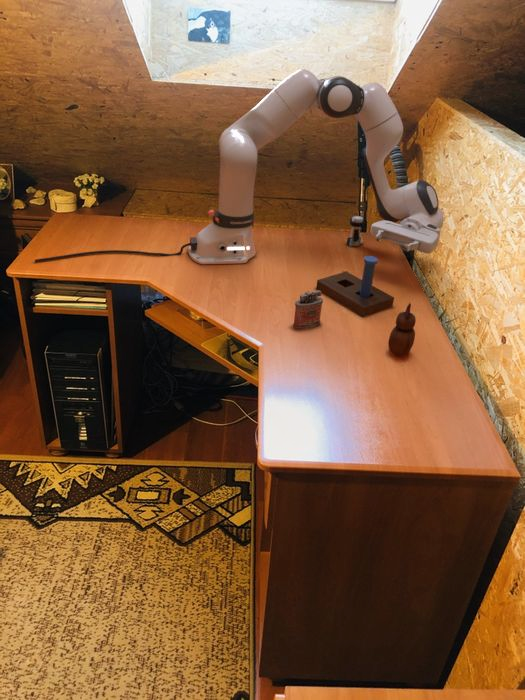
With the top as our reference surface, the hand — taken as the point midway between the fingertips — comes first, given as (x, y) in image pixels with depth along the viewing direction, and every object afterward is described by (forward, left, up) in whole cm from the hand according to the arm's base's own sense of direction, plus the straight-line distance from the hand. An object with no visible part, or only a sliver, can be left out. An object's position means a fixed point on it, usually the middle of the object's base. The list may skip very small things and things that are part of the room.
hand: (391, 243), depth 167 cm
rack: (-11, -2, -15) cm, 19 cm away
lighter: (-32, -13, -15) cm, 38 cm away
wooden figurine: (-15, -32, -15) cm, 39 cm away
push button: (+9, +34, -15) cm, 38 cm away
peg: (-10, -6, -15) cm, 19 cm away
